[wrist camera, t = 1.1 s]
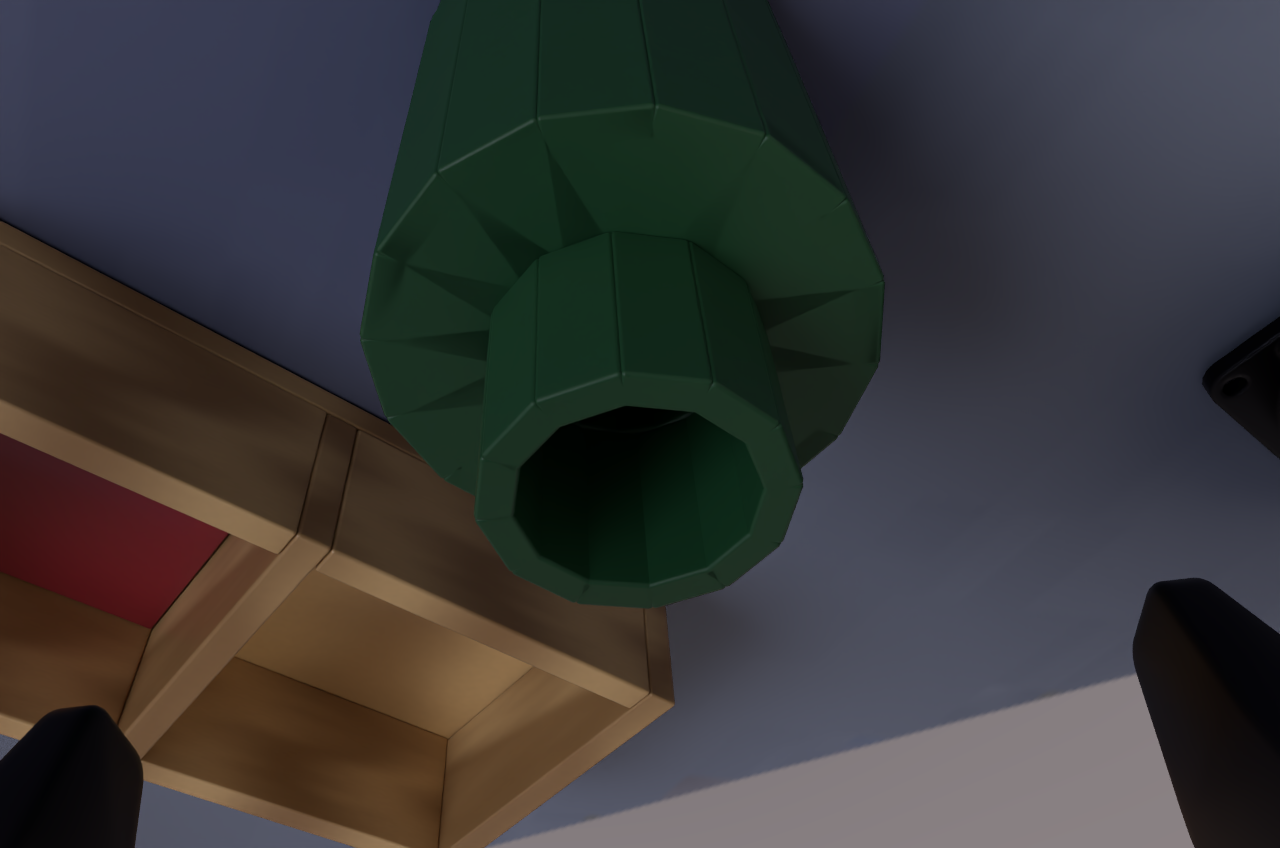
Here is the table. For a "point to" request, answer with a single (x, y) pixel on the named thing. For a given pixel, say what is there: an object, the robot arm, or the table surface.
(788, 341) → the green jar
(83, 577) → the wooden divided tray
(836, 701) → the table surface
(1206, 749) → the robot arm
